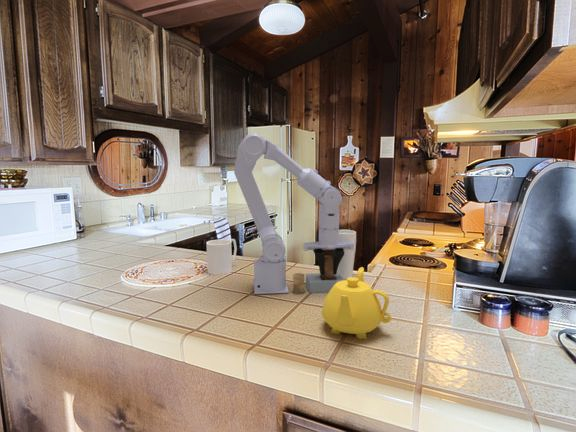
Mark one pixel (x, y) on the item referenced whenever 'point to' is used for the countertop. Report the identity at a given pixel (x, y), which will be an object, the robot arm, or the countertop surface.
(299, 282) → the oak stub
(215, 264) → the cup
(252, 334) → the countertop surface
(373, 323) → the teapot
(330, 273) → the walnut dowel
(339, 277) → the socket block
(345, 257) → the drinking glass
